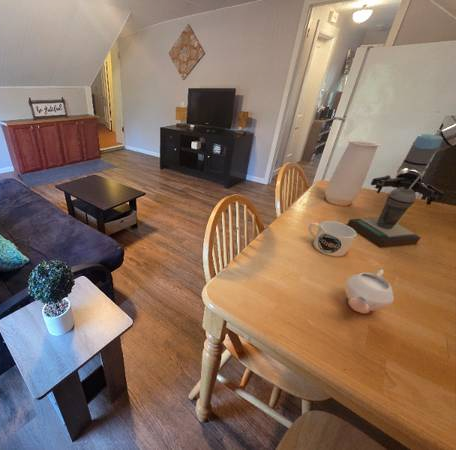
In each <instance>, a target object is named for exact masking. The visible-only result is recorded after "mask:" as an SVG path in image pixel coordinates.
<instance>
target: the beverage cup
mask: <svg viewBox="0 0 456 450" xmlns="http://www.w3.org/2000/svg"><path fill="white" fill-rule="evenodd" d="M419 178H420V177H419V176H418V178H417V179H416V180H415V181H414V182H413V184H412V185H411V186H410V187H409V188H407V187H400V188H394V189H393V190H391V191H390V192H389V193H388V194H387V197H386V201H385V203H384V206H383V208H382V211H381V214H379V216H378V217H379V220H378V223H377V225H378V226H379V227H381V228H384V229H392V228H393V227H394V225H395V224H396V223H397V224H398V222H399V221H400V219H401V218H402V217H403V215H404V214H405V213H406V212H407V211H408V209H409V208H410V207H411V206H413V204H414V203H415V201H416V199H417V195H416V192H414V191H413V190H412V189H411V188H412V187H413V185H414V184H415V183H416V182H417V181H418V179H419Z"/></svg>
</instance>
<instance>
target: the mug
mask: <svg viewBox="0 0 456 450" xmlns="http://www.w3.org/2000/svg"><path fill="white" fill-rule="evenodd" d="M313 226H316V227H317V228H318V229H317V231H316V234H314V232H313V230H312V227H313ZM308 232H309V234H310V235H311V237H312V238H313V239H314V240H313V243H312V244H313V247H314V248H315V249H316V250H317V251H319V252H320V253H322V254H324V255H327V256H331V257H342V256H344V255H346V253H347V252H348V250H349V249H350V247H351V245H352V244H353V242H354V240H355V239H356V237H357V234H358V233H357V232H356V231H355V230H354V229H352V228H351V227H349V226H347V224H344V223H341V222H338V221H333V220H325V221H322V222H320V223H318V222H311V223H310V224H309V225H308Z"/></svg>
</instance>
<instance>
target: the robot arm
mask: <svg viewBox="0 0 456 450" xmlns="http://www.w3.org/2000/svg"><path fill="white" fill-rule="evenodd" d="M455 145H456V123H455V124H453V125H451V126H448V127H447V128H445V129H442V130H440V131H438V132H436V133H434V134H431V133H421V134H419V135H417V136H416V138H415V139H414V141H413V142H412V145H411V147H410V148H409V150H408V152H407V155H406V156H405V157H404V159H403V161H402V163H401V165H400V166H399V167H398V169H397V170H396V174H395V177H394V178H393V177H391V175H388V174H387V175H385V176H380V177H379V176H378V177H374V178H372V180H371V182H370V186H374V188H375V189H376V193H377V194H380V193H381V191H382V189H383V188H388V187H389V188H394V189H396V188H400V187H407V188H409V187H410V186H411V185H412V184H413V182H414V181H415V180H416V179H417V178H418V176H419V177H420V178H419V179H418V181H417V182H416V183H415V184H414V185H413V187H412V188H411V189H412V190H413V191H414V192H415V193H417V194H419V195H420V194H421V195H422V196H424V197H426V205H428V206H430V205H431V204H432V202H436V201H442V200H443V199H444V198H445V196H446V193H445V192H444V191H442V190H441V189H439V188H437V187H435V186H434V185H433V184H432V183H428V184H423V183H422V176H423V173H424V171H425V170H426V168H427V167H428V165H429V163H430V162H431V160H432V158H433V156H434V155H435V154H437V153H439V152H441V151H444V150H446V149H449V148H451V147H453V146H455Z"/></svg>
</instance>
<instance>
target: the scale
mask: <svg viewBox="0 0 456 450" xmlns="http://www.w3.org/2000/svg"><path fill="white" fill-rule="evenodd" d="M379 217H380V216H375V217H364V218H363V217H361V218H350V219H349V220H348V222H347V224H346V225H347V226H349V227H351V228H352V229H354V230H355V231H356V234H359V235H360V236H362V237H364V238H365V239H366V240H368V241H369V242H371V243H372V244H374V245H375V246H377V247H379V248H381V249H382V248H391V247H401V246H402V247H403V246H413V245H417V244H418V243H419V241H420V240H421V236H419V235H417V234H416V233H415V232H413V231H412V230H409V229H408V228H406V227H405V226H402V225H400V224H398V222H397V223H396V224H395V225H394V227H393V228H392V229H384V228H381V227H379V226H378V225H377V223H378V220H379Z"/></svg>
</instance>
